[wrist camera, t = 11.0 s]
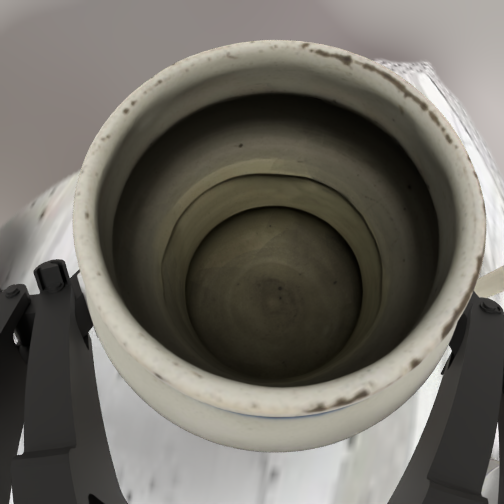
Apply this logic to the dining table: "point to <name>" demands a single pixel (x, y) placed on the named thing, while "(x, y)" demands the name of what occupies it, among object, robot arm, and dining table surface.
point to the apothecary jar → (277, 242)
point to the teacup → (491, 482)
